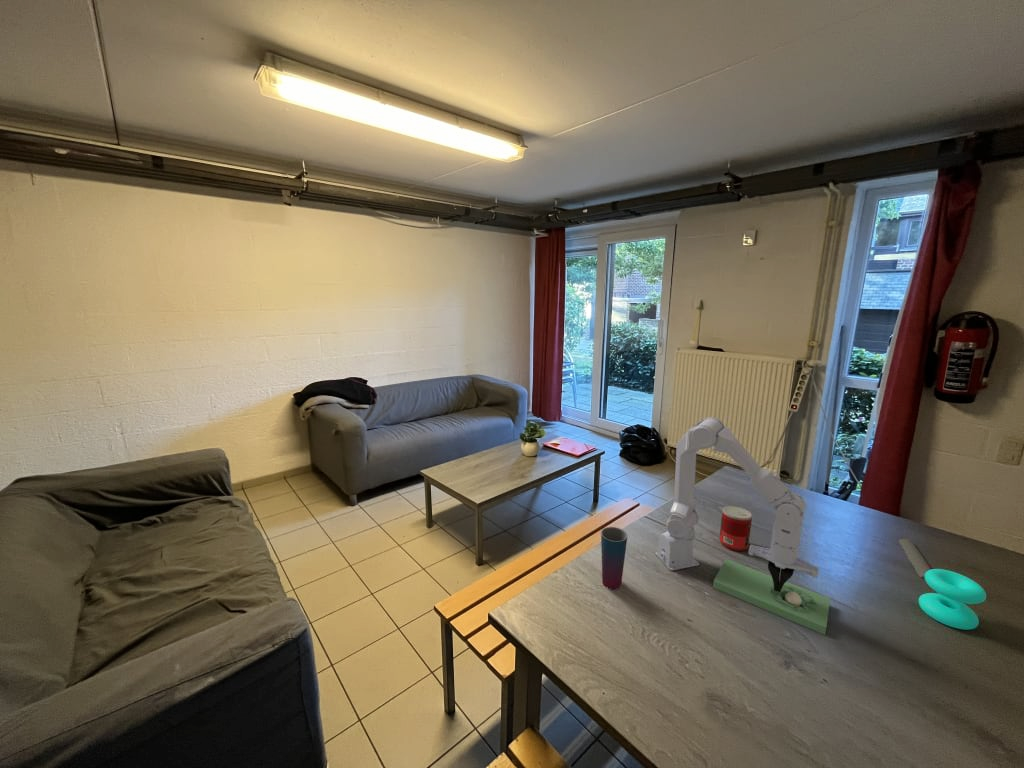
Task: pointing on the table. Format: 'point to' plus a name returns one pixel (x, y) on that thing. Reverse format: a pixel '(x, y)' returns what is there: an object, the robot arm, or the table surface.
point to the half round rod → (915, 557)
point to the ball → (793, 599)
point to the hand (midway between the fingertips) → (777, 589)
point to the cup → (613, 556)
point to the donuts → (952, 598)
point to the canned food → (735, 528)
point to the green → (773, 595)
